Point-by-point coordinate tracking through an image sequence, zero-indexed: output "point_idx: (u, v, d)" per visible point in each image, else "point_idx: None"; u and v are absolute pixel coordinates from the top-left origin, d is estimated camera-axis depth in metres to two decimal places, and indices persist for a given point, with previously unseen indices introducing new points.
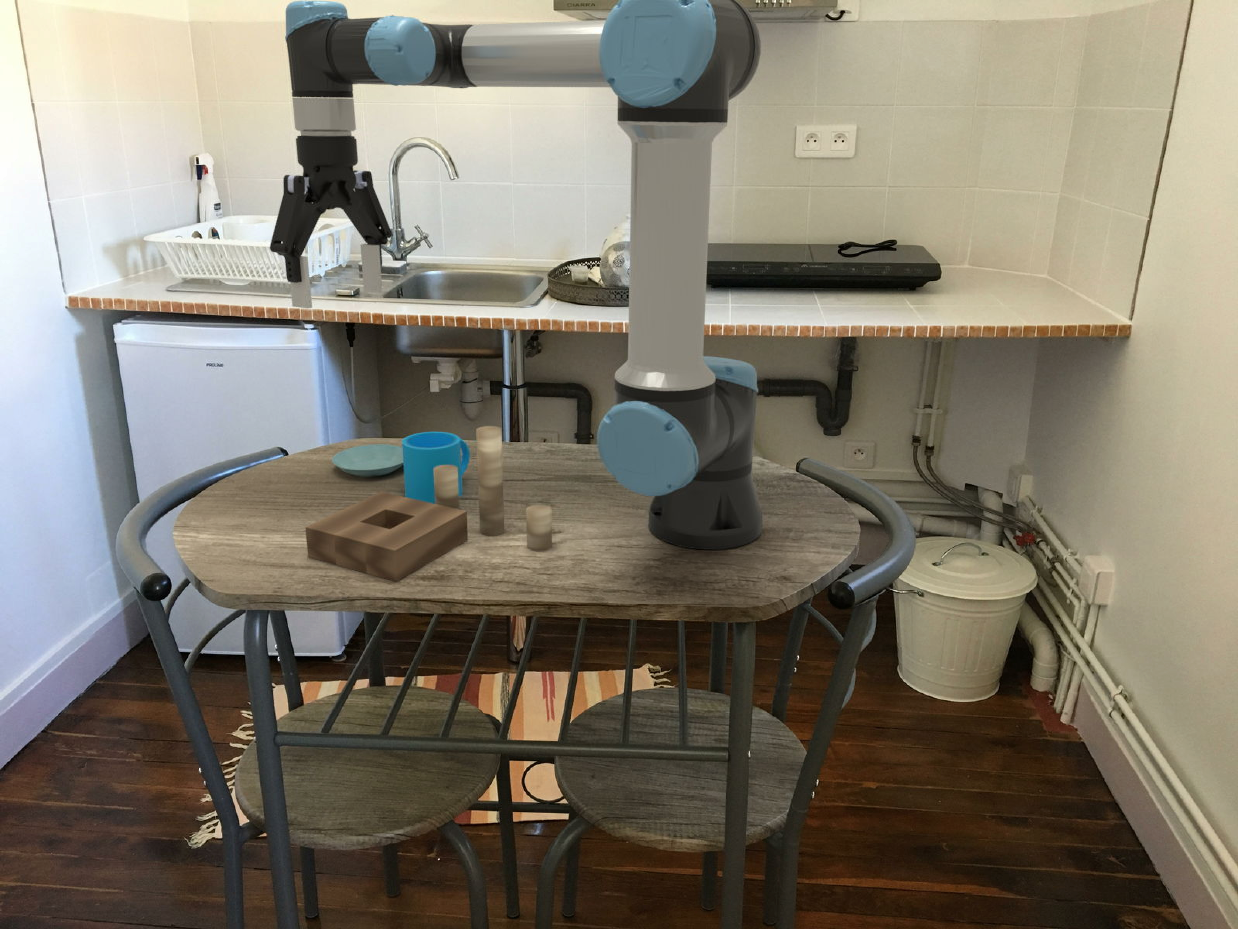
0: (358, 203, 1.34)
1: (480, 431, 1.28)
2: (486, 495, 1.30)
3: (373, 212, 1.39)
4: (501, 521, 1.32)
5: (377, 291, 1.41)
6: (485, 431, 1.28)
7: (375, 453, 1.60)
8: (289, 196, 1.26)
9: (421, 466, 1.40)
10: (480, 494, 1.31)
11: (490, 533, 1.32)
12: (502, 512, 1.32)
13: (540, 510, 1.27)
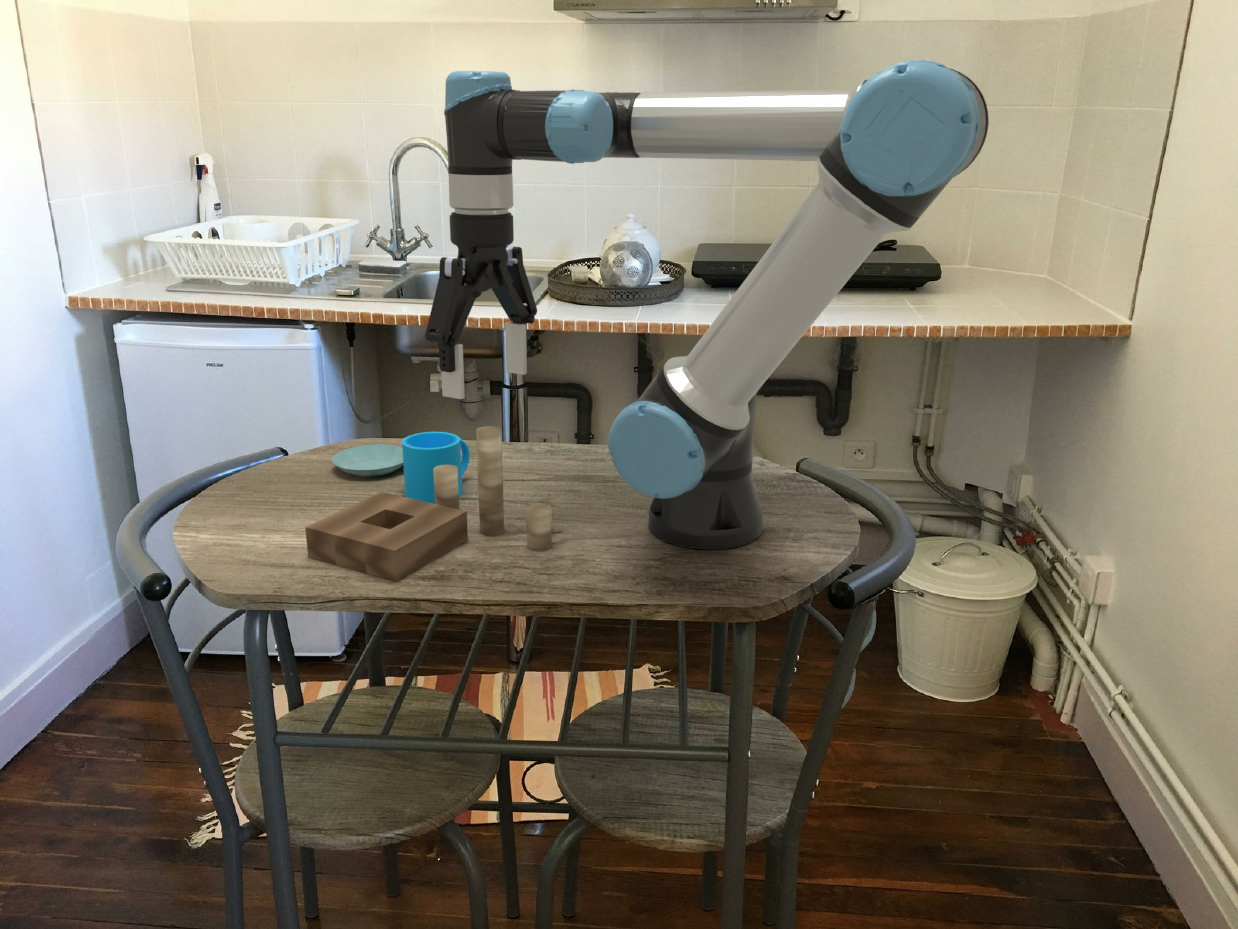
0: (510, 282, 1.25)
1: (480, 431, 1.28)
2: (486, 495, 1.30)
3: (521, 290, 1.29)
4: (501, 521, 1.32)
5: (522, 373, 1.31)
6: (485, 431, 1.28)
7: (375, 453, 1.60)
8: (445, 281, 1.16)
9: (421, 466, 1.40)
10: (480, 494, 1.31)
11: (490, 533, 1.32)
12: (502, 512, 1.32)
13: (540, 510, 1.27)
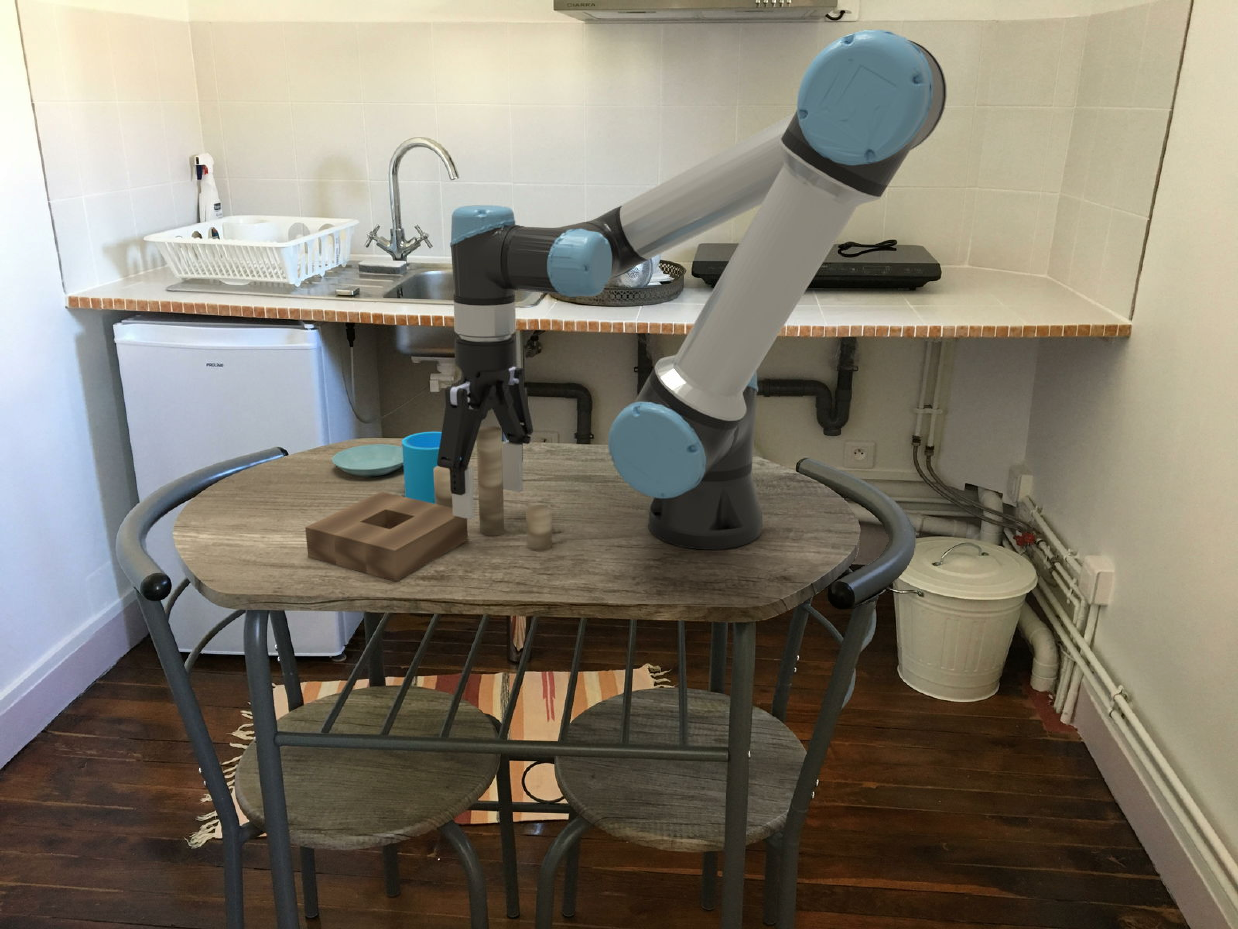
0: (510, 403, 1.29)
1: (480, 431, 1.28)
2: (486, 495, 1.30)
3: (519, 409, 1.33)
4: (501, 521, 1.32)
5: (518, 490, 1.35)
6: (485, 431, 1.28)
7: (375, 453, 1.60)
8: (452, 410, 1.21)
9: (421, 466, 1.40)
10: (480, 494, 1.31)
11: (490, 533, 1.32)
12: (502, 512, 1.32)
13: (540, 510, 1.27)
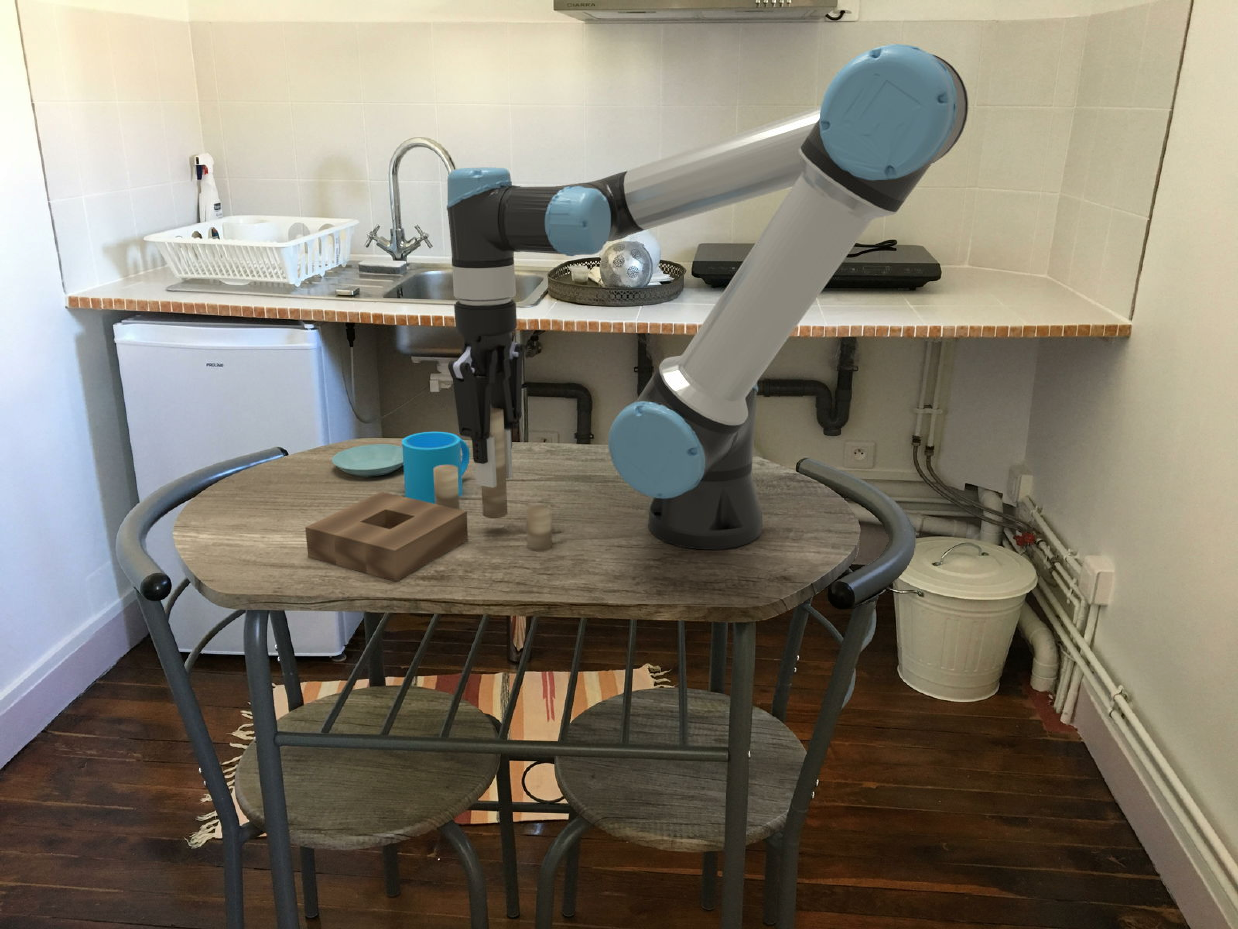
0: (507, 374, 1.27)
1: None
2: None
3: (512, 387, 1.30)
4: (504, 504, 1.31)
5: (508, 477, 1.31)
6: None
7: (375, 453, 1.60)
8: (460, 384, 1.21)
9: (421, 466, 1.40)
10: None
11: (493, 516, 1.31)
12: (505, 494, 1.31)
13: (540, 510, 1.27)
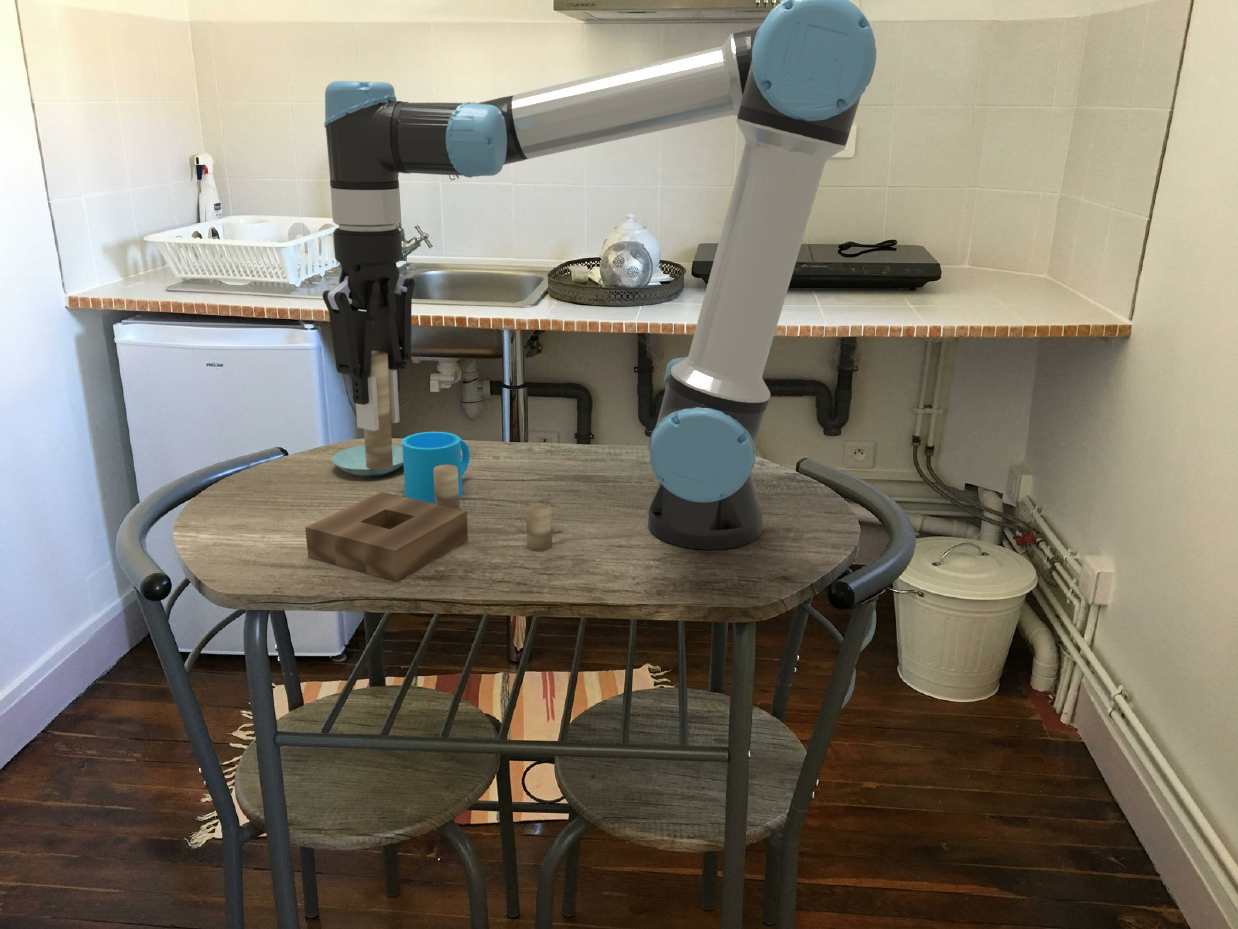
0: (392, 309, 1.18)
1: None
2: None
3: (400, 325, 1.22)
4: (388, 455, 1.23)
5: (394, 421, 1.23)
6: None
7: None
8: (336, 315, 1.13)
9: (421, 466, 1.40)
10: None
11: (376, 467, 1.23)
12: (389, 445, 1.23)
13: (540, 510, 1.27)
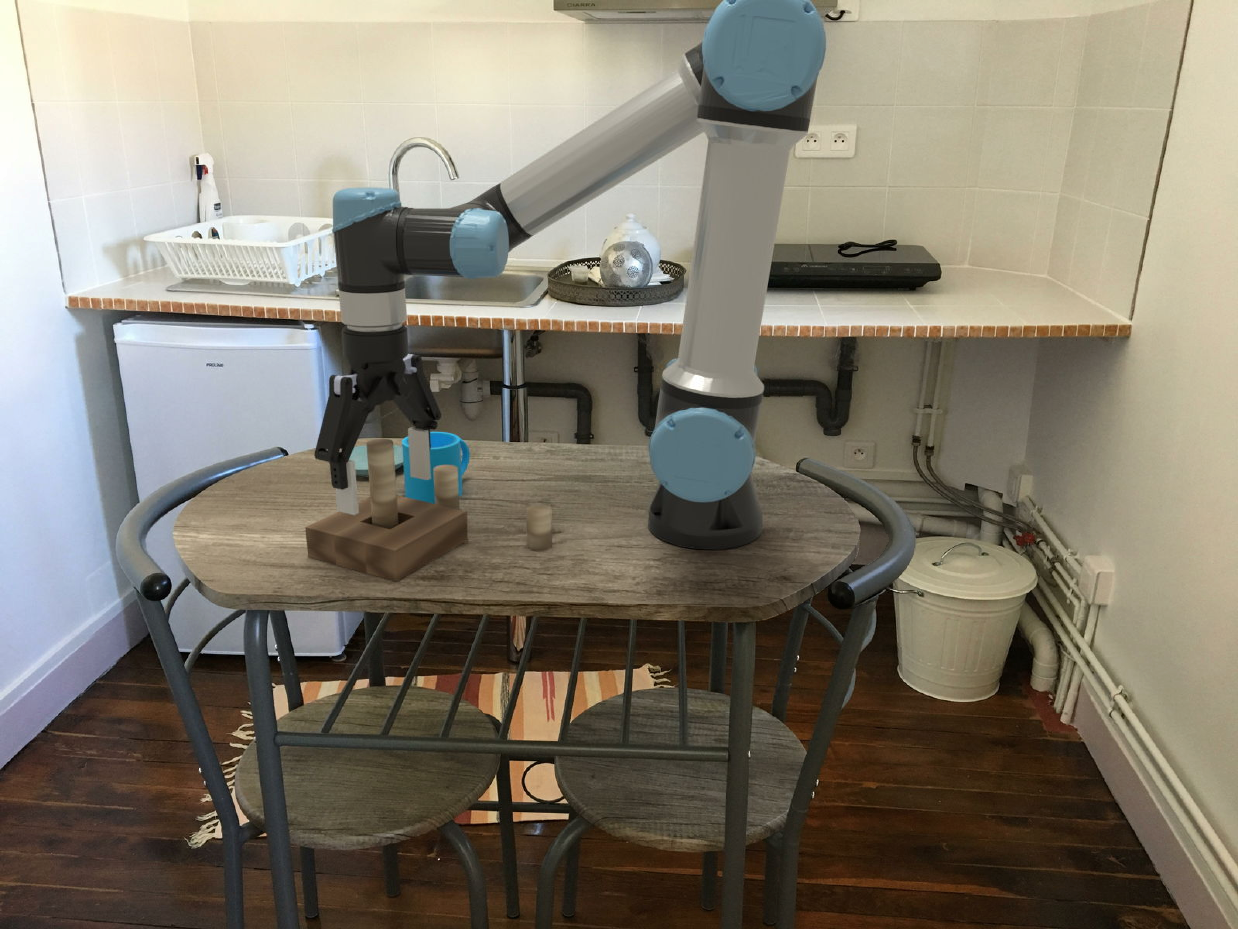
0: (407, 393, 1.23)
1: (370, 444, 1.22)
2: (378, 511, 1.24)
3: (422, 396, 1.27)
4: None
5: (425, 478, 1.30)
6: (375, 444, 1.22)
7: None
8: (335, 399, 1.15)
9: None
10: (372, 510, 1.25)
11: None
12: None
13: (540, 510, 1.27)
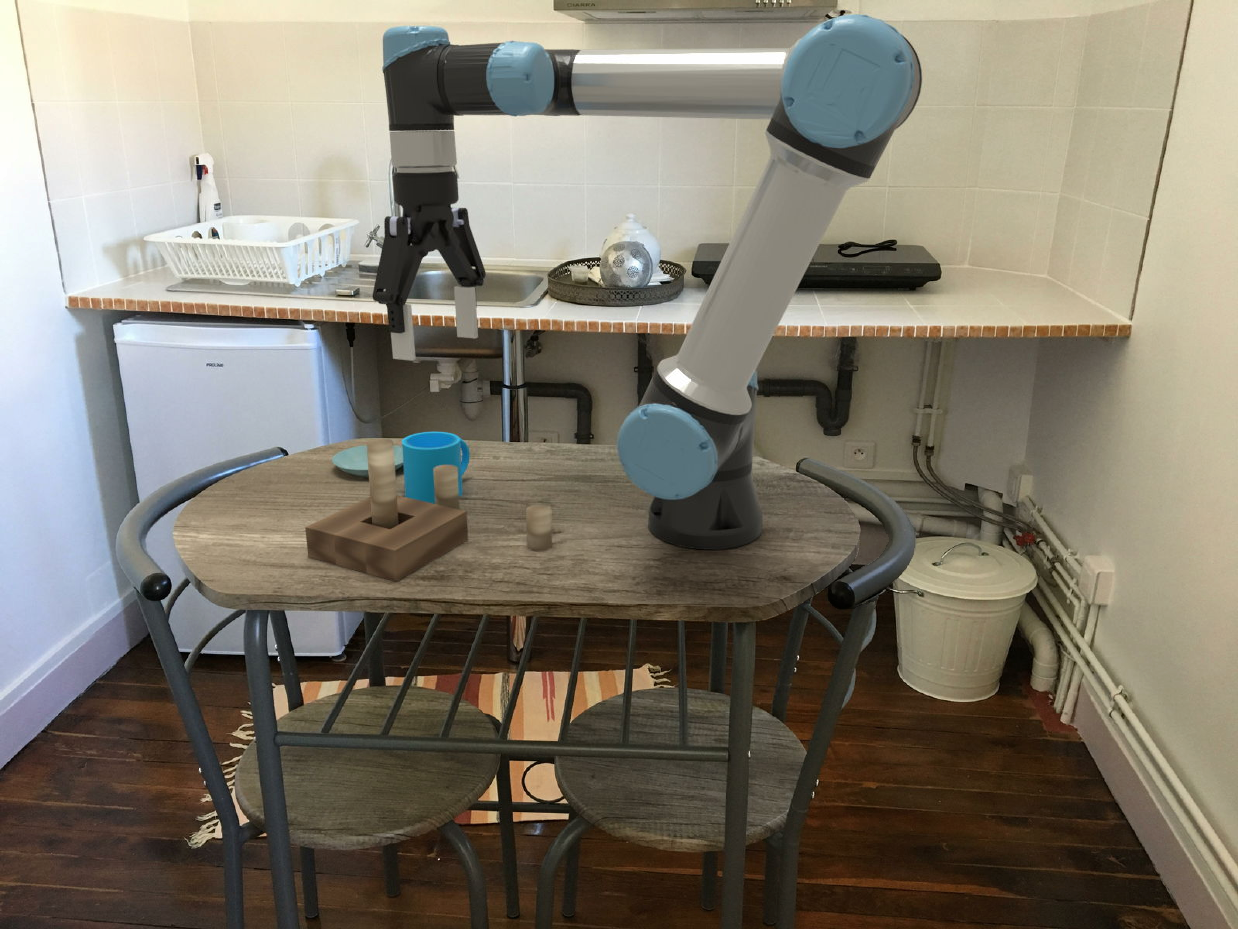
0: (457, 243, 1.24)
1: (370, 444, 1.22)
2: (378, 511, 1.24)
3: (468, 252, 1.28)
4: None
5: (473, 336, 1.30)
6: (375, 444, 1.22)
7: None
8: (391, 240, 1.15)
9: (421, 466, 1.40)
10: (372, 510, 1.25)
11: None
12: None
13: (540, 510, 1.27)
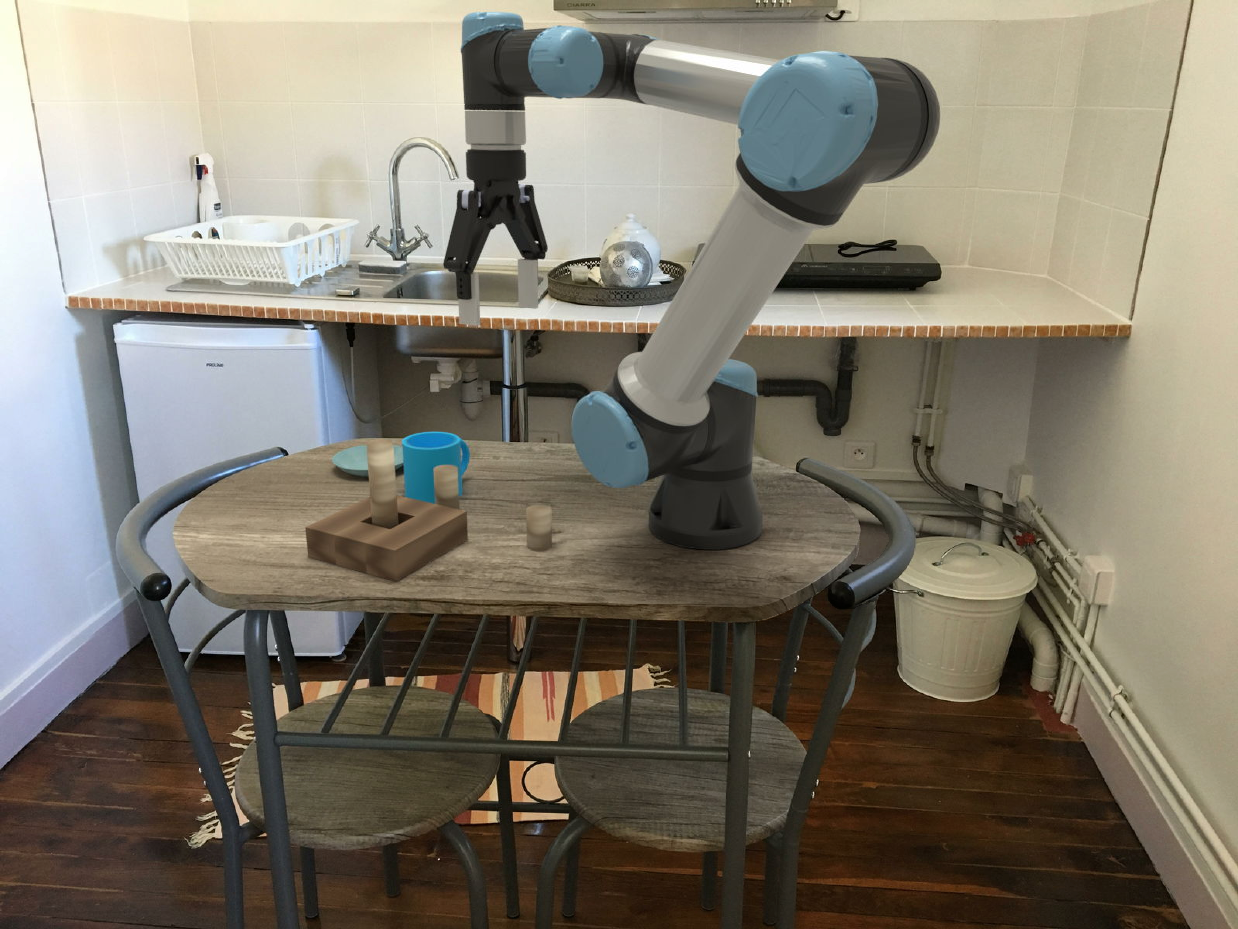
0: (522, 218, 1.31)
1: (370, 444, 1.22)
2: (378, 511, 1.24)
3: (532, 227, 1.36)
4: None
5: (533, 307, 1.38)
6: (375, 444, 1.22)
7: None
8: (462, 212, 1.23)
9: (422, 466, 1.40)
10: (372, 510, 1.25)
11: None
12: None
13: (540, 510, 1.27)
